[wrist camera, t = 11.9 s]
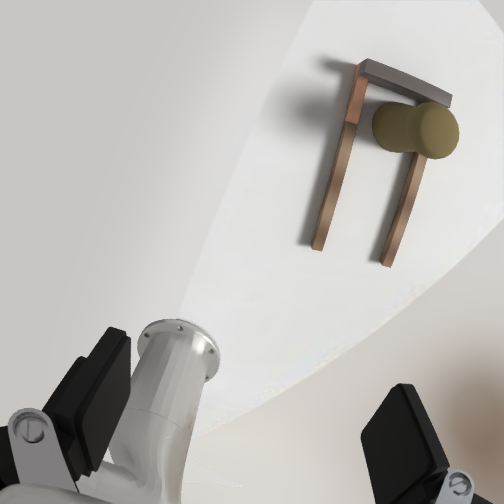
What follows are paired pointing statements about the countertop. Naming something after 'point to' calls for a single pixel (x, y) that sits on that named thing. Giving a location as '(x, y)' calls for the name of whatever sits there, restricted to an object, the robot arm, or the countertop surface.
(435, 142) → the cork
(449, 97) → the guide channel
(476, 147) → the countertop surface
